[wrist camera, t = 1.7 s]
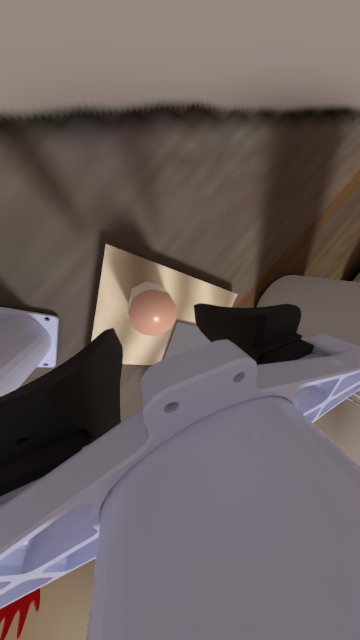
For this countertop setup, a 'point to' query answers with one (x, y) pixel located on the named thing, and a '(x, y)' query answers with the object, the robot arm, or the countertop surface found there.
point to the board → (115, 293)
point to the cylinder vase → (319, 305)
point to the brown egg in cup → (151, 309)
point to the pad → (185, 339)
